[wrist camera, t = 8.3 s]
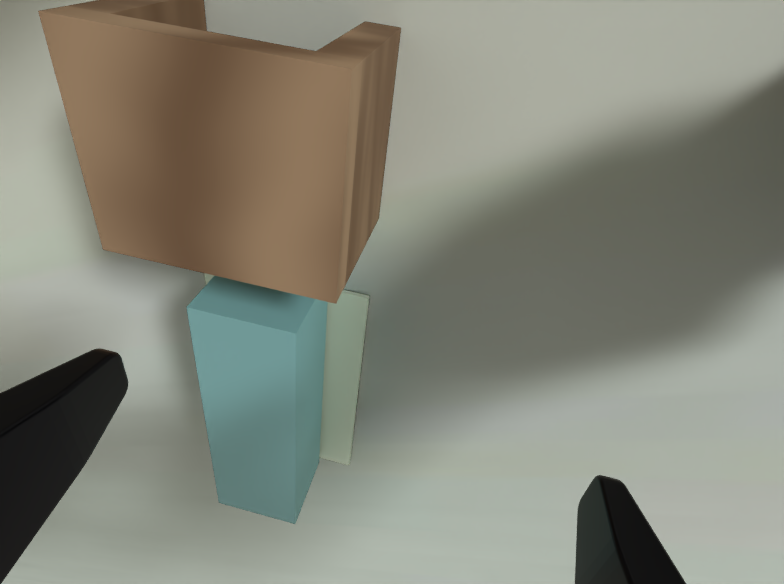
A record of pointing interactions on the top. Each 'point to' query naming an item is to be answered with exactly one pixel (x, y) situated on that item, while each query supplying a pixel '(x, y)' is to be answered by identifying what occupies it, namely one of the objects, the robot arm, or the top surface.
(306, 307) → the bar
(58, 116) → the top surface
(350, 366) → the pad
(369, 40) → the tunnel
